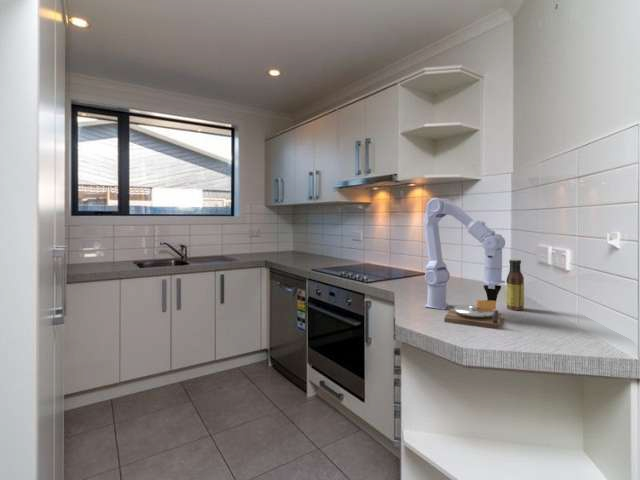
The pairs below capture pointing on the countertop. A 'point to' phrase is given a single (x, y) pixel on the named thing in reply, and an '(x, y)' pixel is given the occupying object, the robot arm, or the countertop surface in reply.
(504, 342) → the countertop surface
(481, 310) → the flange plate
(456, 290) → the countertop surface
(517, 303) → the sauce bottle
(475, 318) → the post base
